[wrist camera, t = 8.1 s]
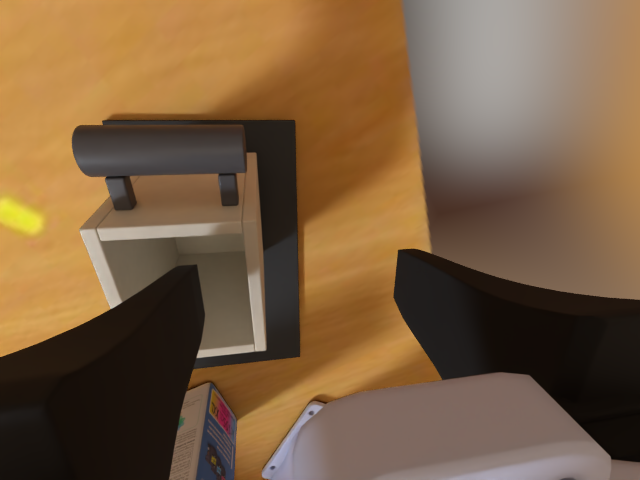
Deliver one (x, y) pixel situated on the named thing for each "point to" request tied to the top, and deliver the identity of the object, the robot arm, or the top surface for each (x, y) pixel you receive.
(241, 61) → the top surface
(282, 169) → the mat
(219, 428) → the ink cartridge box
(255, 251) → the white case
